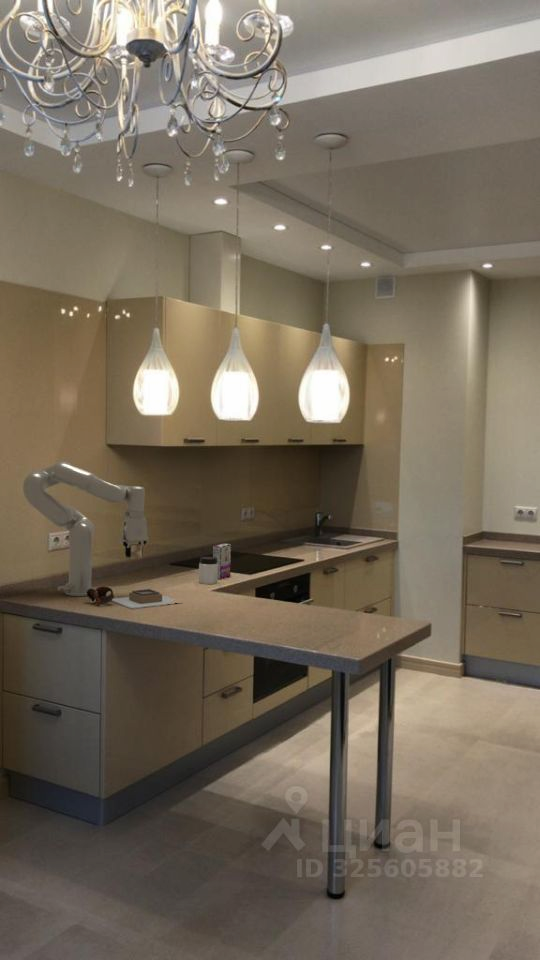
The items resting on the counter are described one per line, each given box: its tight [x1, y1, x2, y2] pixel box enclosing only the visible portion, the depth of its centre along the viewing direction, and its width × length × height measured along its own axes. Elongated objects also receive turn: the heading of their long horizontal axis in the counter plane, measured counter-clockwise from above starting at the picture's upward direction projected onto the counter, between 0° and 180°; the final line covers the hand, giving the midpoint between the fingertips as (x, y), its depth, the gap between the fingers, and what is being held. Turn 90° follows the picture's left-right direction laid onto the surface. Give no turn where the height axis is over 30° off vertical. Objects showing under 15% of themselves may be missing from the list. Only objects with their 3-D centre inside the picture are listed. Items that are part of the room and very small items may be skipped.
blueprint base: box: [110, 588, 176, 610], centre depth 352 cm, size 24×20×4 cm
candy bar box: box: [212, 543, 232, 580], centre depth 419 cm, size 11×5×16 cm, turn 156°
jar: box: [198, 556, 218, 585], centre depth 403 cm, size 9×8×12 cm
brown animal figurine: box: [87, 585, 115, 607], centre depth 346 cm, size 12×10×8 cm
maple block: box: [125, 543, 143, 560], centre depth 366 cm, size 5×5×6 cm
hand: (133, 555), depth 366 cm, fingers closed on maple block, 5 cm apart
